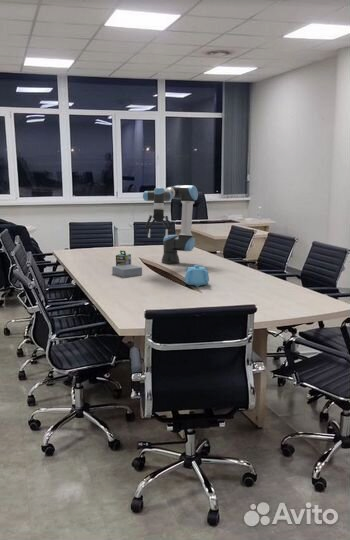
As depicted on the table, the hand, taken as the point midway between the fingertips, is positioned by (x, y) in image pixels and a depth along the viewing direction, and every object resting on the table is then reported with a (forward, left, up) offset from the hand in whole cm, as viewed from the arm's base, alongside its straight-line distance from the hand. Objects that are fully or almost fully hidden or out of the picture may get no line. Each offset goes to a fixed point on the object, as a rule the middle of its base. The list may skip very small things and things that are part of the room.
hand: (157, 237), depth 365 cm
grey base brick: (-11, -20, -27) cm, 36 cm away
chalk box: (-31, -10, -27) cm, 42 cm away
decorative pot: (+48, -3, -27) cm, 55 cm away
